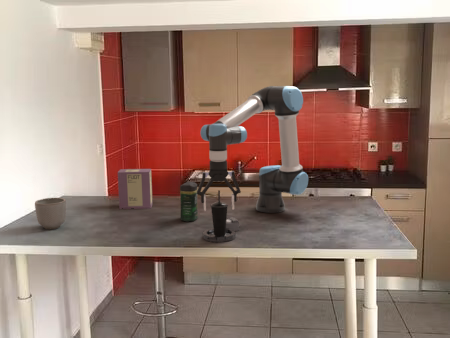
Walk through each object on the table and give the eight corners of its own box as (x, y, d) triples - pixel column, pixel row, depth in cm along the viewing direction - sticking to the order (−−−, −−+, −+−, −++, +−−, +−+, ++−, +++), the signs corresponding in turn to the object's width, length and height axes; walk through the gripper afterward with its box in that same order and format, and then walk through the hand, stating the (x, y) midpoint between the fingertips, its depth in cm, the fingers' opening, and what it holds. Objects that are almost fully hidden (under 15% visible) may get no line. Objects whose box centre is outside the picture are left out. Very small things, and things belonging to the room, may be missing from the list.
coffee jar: (194, 222, 254) (193, 184, 250) (178, 221, 255) (177, 184, 252) (199, 217, 263) (199, 180, 260) (184, 216, 265) (183, 180, 261)
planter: (39, 233, 239) (37, 205, 237) (34, 226, 251) (32, 199, 249) (70, 229, 245) (68, 202, 243) (64, 222, 257) (62, 196, 255)
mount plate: (233, 231, 238) (233, 227, 237) (237, 241, 224) (237, 236, 223) (202, 233, 236) (202, 228, 236) (204, 242, 223) (204, 237, 222)
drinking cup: (210, 232, 233) (209, 188, 230) (227, 232, 234) (227, 188, 230) (211, 238, 226) (210, 192, 222) (229, 237, 226) (228, 192, 223)
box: (152, 204, 291) (151, 168, 287) (150, 208, 282) (149, 171, 278) (122, 204, 290) (120, 169, 287) (119, 209, 281) (117, 172, 278)
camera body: (233, 227, 245) (233, 217, 244) (238, 230, 240) (238, 220, 239) (217, 229, 243) (217, 218, 242) (222, 232, 237) (222, 222, 236)
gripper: (244, 157, 229) (245, 206, 233) (189, 159, 226) (191, 208, 230) (247, 160, 221) (247, 210, 225) (190, 162, 219) (191, 212, 223)
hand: (219, 209), depth 228 cm, fingers open, 11 cm apart
